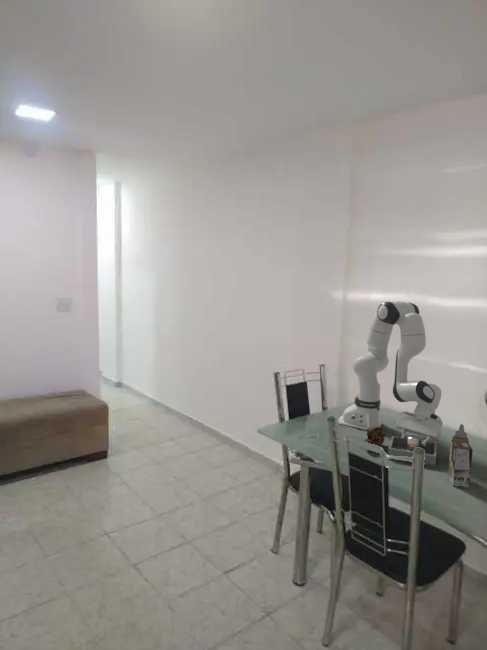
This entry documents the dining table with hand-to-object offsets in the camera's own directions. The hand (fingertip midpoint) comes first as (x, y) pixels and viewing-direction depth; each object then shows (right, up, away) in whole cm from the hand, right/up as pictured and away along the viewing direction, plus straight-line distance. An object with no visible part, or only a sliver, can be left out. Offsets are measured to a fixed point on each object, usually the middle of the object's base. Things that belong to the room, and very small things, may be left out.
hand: (412, 441), depth 214 cm
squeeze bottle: (+18, -8, -5) cm, 21 cm away
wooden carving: (-15, -6, +10) cm, 18 cm away
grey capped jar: (0, -6, +1) cm, 6 cm away
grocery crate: (0, -7, +1) cm, 7 cm away
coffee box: (+11, -11, -22) cm, 27 cm away
